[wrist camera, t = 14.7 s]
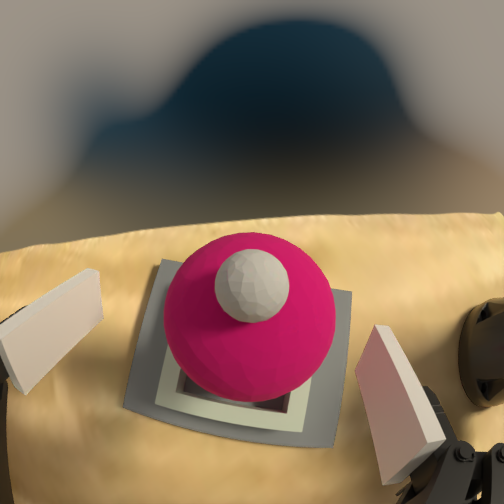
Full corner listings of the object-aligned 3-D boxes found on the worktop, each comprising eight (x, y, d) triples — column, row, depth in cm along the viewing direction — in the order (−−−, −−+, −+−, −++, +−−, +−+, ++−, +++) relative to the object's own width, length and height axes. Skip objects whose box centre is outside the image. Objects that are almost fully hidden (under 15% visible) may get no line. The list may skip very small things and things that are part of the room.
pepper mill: (302, 356, 24) (446, 272, 6) (245, 411, 21) (249, 508, 3) (247, 304, 26) (254, 122, 8) (191, 354, 24) (54, 263, 6)
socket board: (347, 296, 28) (363, 280, 24) (328, 444, 21) (343, 454, 17) (165, 264, 29) (154, 245, 25) (128, 406, 22) (108, 409, 18)
